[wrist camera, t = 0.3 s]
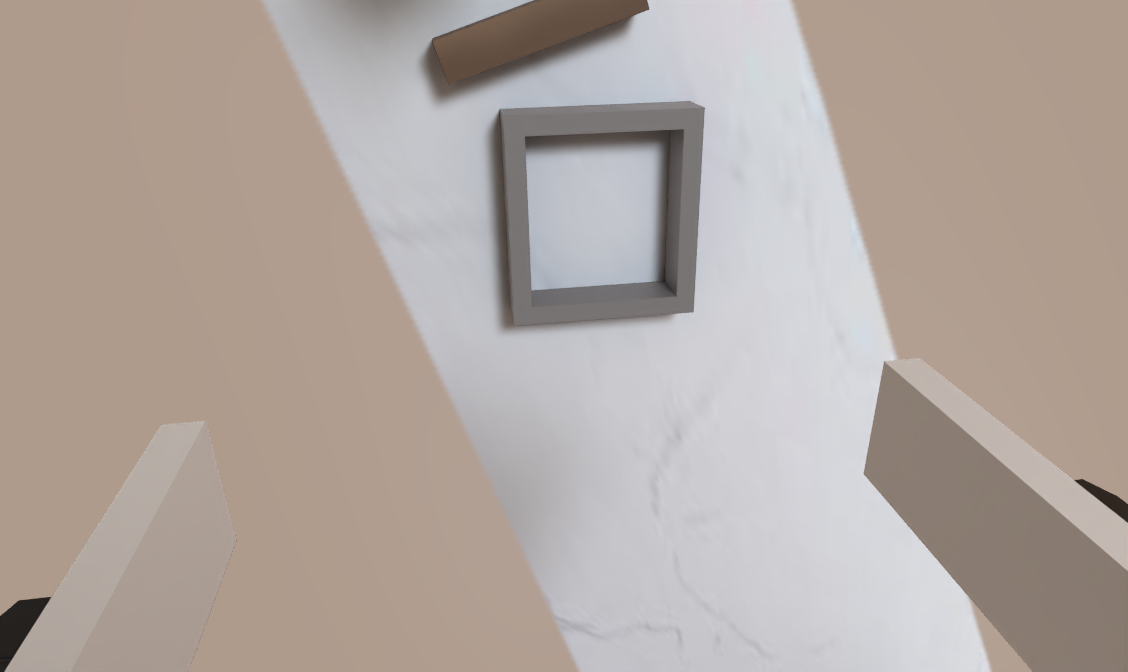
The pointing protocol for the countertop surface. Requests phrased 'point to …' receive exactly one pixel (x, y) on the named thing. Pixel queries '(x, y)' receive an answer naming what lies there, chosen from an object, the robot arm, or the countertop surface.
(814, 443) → the countertop surface
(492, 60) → the door edge rail
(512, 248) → the keeper frame
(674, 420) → the countertop surface
